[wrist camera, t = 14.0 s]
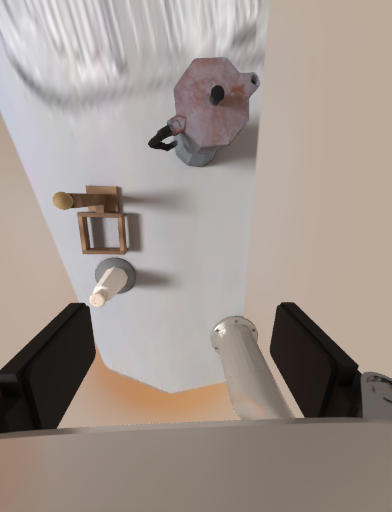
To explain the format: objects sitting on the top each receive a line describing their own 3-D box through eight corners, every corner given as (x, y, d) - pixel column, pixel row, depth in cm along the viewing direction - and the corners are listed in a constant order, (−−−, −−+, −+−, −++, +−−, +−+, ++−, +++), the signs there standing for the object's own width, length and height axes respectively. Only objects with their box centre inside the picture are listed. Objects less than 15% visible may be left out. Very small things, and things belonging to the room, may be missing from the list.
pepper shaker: (127, 266, 46) (110, 287, 36) (129, 287, 48) (113, 313, 37) (103, 266, 46) (79, 287, 35) (105, 287, 47) (83, 314, 37)
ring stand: (128, 250, 46) (100, 278, 30) (89, 250, 45) (40, 278, 30) (123, 187, 42) (88, 182, 26) (80, 185, 41) (20, 179, 26)
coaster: (135, 293, 49) (135, 293, 48) (98, 292, 48) (97, 293, 48) (133, 257, 46) (133, 258, 46) (93, 257, 46) (92, 258, 45)
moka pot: (239, 145, 41) (289, 101, 21) (176, 188, 42) (171, 182, 23) (215, 97, 38) (248, -1, 19) (149, 145, 40) (118, 98, 20)
